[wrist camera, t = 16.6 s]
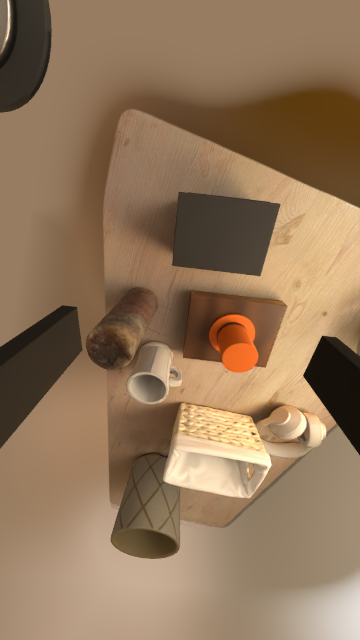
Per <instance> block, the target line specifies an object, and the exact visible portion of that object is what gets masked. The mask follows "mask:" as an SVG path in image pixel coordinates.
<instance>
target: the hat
mask: <svg viewBox="0 0 360 640" xmlns="http://www.w3.org/2000/svg"><path fill="white" fill-rule="evenodd" d="M254 337H255V329H254V326H253V324H252V322H251V321H250V320H249V319H248V318H246V317H245V316H243V315H240V314H227V315H224V316H222V317H220V318H218V319H217V320H216V321H215V322H214V323H213V324H212V326H211V328H210V331H209V339H210V342H211V344H212V346H213V347H214V348H215V349H216V350H218V351H219V352H220V354H221V359H222V363H223V365H224V366H225V367H226V368H227V369H228V370H230V371H232V372H245V371H248V370H250V369H251V368H253V367H254V366H255V364H256V363H257V361H258V352H257V350H256V348H255V346H254V344H253V340H254Z"/></svg>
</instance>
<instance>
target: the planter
mask: <svg viewBox="0 0 360 640" xmlns="http://www.w3.org/2000/svg"><path fill="white" fill-rule="evenodd" d="M166 461H167V458H165V457H162V456H160V455H159V454H158V453H151V454H148V455H145V456H142V457H140V458H138V459H137V460H136V461H135V462H134V463H133V466H132V469H131V472H130V476H129V479H128V482H127V485H126V489H125V492H124V495H123V498H122V502H121V505H120V508H119V511H118V515H117V518H116V521H115V525H114V528H113V531H112V535H111V543H112V544H113V545H114V546H115V547H116V548H117V549H118V550H120V551H122V552H124V553H126V554H128V555H132V556H135V557H141V558H150V559H156V558H165V557H169V556H171V555H174V554H175V553H177V552H178V550H179V547H180V486H176V485H172V484H169V483H167V482H164V481H163V475H164V470H165V465H166Z"/></svg>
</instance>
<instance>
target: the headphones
mask: <svg viewBox="0 0 360 640" xmlns="http://www.w3.org/2000/svg"><path fill="white" fill-rule="evenodd" d="M268 425H269V428H270V430H271V431H272V432H273V433H274V434H275V435H276V436H278V437H280V438H282V439H288V440H289V439H294V438H296V437H298V439H299V441H300V442H290V443H273V442H268V441H265V440H263V439H261V438H260V439H261V442H262V444H263V445H264V448H265V450H266V453H268V454H269V455H271V456H275V457H281V458H296V457H300V456H303V455H305V454H306V453H307V452H309V450H311V449H313V448H314V447H316V446H319V445H320V443H321V441H322V439H324V438H325V437H326V428H325V425H324V423H323V422H321V421H320V420H319V419H318V417H317V416H316V415H315V414H313V413H301V412H300V411H299V410H298V409H297V408H295V407H293V406H290V405H284V406H280V407H278V408H276V409H275V410H274V411H273V412H272V413H271V414H270V416H269V418H267V419H264V420H262V421H260V422H258V423H256V424H255V427H256V428H257V431H259V430H260V429H261V428H262V427H265V426H268Z"/></svg>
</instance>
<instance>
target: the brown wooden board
mask: <svg viewBox="0 0 360 640" xmlns="http://www.w3.org/2000/svg"><path fill="white" fill-rule="evenodd" d="M286 309H287V305H286V304H285V303H283V302H282V301H276V300H268V299H259V298H251V297H243V296H234V295H226V294H218V293H209V292H201V291H193V290H192V293H191V300H190V307H189V314H188V322H187V329H186V336H185V344H184V351H183V358H191V359H199V360H207V361H216V362H222V359H221V354H220V352H219V351H218V350H216V349H215V348H214V347H213V346H212V344H211V342H210V339H209V331H210V328H211V326H212V324H213V323H214V322H215V321H216V320H217V319H218V318H220V317H222V316H224V315H227V314H240V315H243V316H245V317H246V318H248V319H249V320H250V321H251V322H252V324H253V326H254V329H255V337H254V340H253V344H254V346H255V348H256V350H257V352H258V361H257V363H256V364H255V366H257V367H266V365H267V362H268V359H269V356H270V354H271V351H272V348H273V345H274V342H275V340H276V337H277V334H278V331H279V329H280V326H281V323H282V320H283V317H284V315H285V312H286Z"/></svg>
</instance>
